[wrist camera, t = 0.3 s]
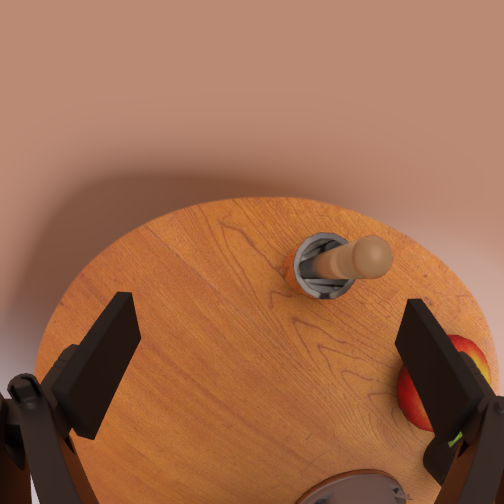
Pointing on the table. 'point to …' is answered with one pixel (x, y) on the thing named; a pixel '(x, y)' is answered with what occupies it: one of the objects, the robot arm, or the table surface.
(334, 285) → the holder
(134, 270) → the table surface
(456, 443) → the travel mug
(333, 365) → the table surface
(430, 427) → the fruit
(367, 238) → the stick
